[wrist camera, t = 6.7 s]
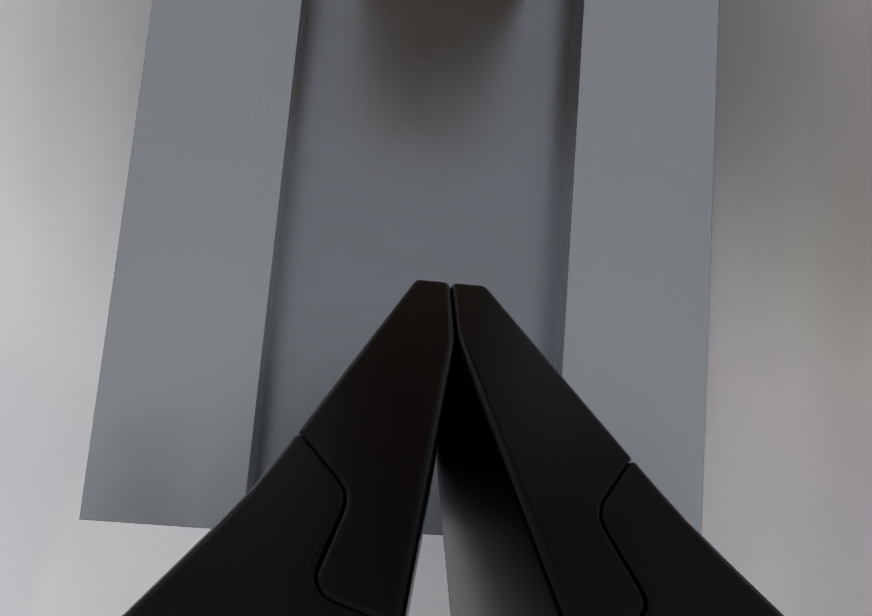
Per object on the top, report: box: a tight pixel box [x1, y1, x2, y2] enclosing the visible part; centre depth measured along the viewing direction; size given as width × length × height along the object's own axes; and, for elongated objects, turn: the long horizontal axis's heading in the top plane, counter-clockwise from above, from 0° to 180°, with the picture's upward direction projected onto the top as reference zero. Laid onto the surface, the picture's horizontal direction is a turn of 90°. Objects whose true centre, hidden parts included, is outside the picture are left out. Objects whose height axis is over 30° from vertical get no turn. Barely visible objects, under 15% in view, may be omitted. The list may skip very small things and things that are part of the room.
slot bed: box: [79, 0, 719, 535], centre depth 17 cm, size 18×12×2 cm, turn 175°
